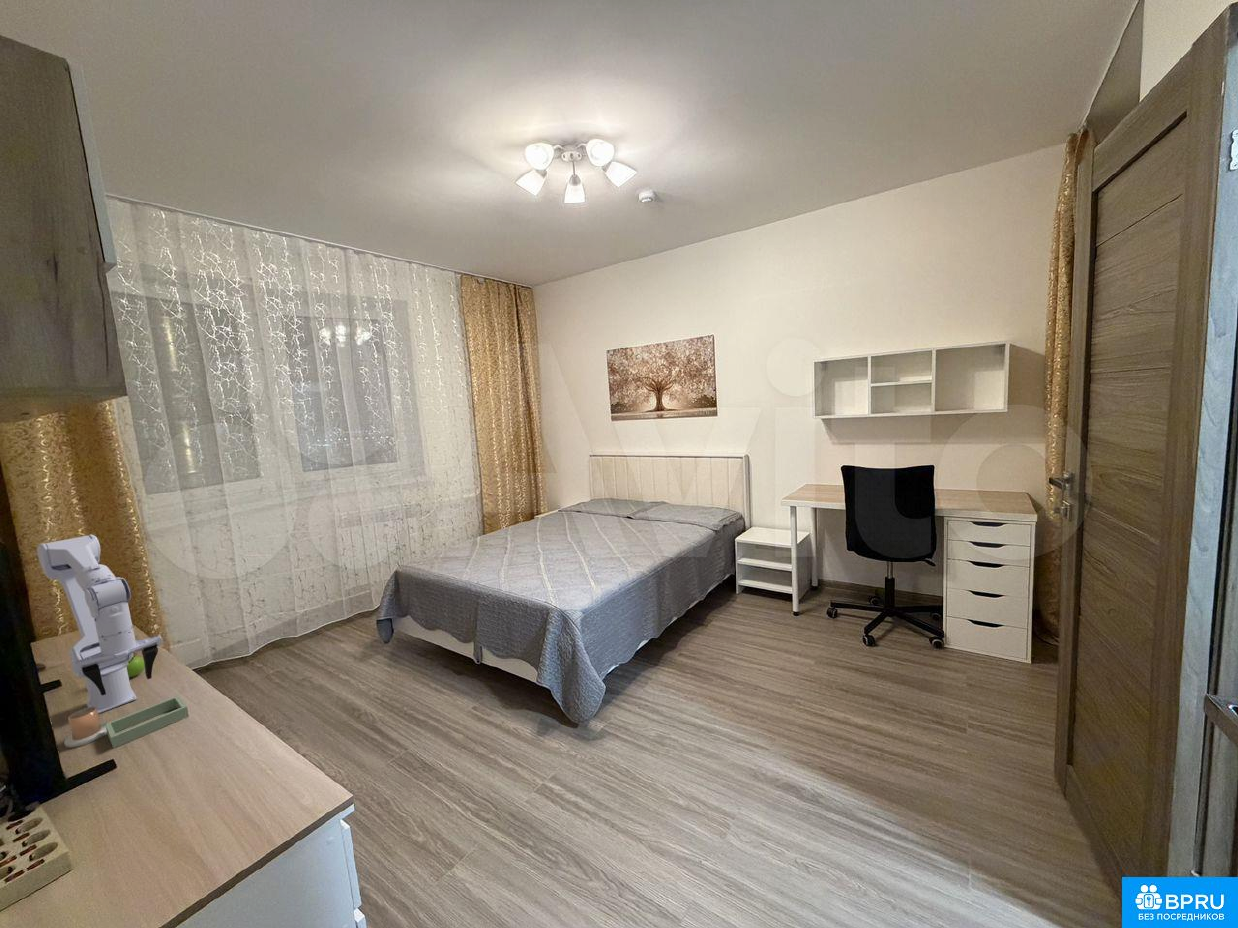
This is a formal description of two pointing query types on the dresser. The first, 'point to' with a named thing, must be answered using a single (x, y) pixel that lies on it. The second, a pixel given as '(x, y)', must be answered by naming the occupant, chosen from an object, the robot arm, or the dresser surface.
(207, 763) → the dresser surface
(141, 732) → the box
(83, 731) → the terracotta pot
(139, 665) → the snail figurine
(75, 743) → the pale grey saucer
